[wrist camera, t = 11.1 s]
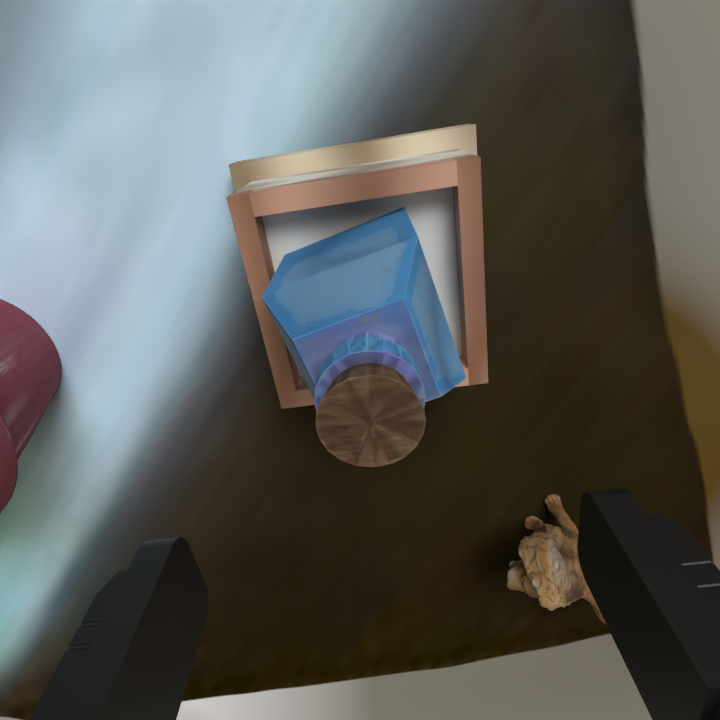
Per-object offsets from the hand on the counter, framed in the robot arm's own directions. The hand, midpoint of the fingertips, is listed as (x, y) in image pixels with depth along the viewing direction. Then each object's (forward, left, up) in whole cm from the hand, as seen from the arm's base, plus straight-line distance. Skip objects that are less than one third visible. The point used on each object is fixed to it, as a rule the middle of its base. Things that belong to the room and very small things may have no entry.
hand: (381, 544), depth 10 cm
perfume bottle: (0, 0, -17) cm, 17 cm away
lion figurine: (+12, -25, -23) cm, 36 cm away
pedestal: (0, 0, -22) cm, 22 cm away
